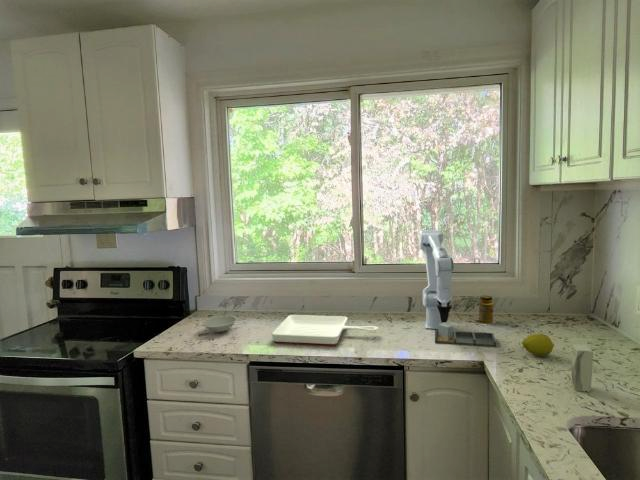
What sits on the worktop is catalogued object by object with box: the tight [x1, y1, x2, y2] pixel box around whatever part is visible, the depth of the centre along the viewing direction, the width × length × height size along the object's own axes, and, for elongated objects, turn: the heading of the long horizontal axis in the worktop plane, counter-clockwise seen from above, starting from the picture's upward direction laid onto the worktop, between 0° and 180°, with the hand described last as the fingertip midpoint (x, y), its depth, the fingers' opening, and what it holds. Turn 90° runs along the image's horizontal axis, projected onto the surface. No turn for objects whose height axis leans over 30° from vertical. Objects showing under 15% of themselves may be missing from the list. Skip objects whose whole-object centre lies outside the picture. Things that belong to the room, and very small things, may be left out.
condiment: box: [472, 295, 497, 326], centre depth 194 cm, size 7×8×12 cm
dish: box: [202, 314, 238, 333], centre depth 192 cm, size 18×14×5 cm
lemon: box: [521, 333, 555, 357], centre depth 154 cm, size 11×8×8 cm
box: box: [570, 344, 594, 393], centre depth 128 cm, size 5×4×13 cm
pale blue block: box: [437, 322, 454, 339], centre depth 173 cm, size 3×5×5 cm, turn 31°
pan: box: [271, 314, 380, 347], centre depth 183 cm, size 28×44×5 cm, turn 78°
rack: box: [434, 329, 497, 348], centre depth 171 cm, size 10×23×2 cm, turn 74°
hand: (444, 319), depth 173 cm, fingers open, 7 cm apart
